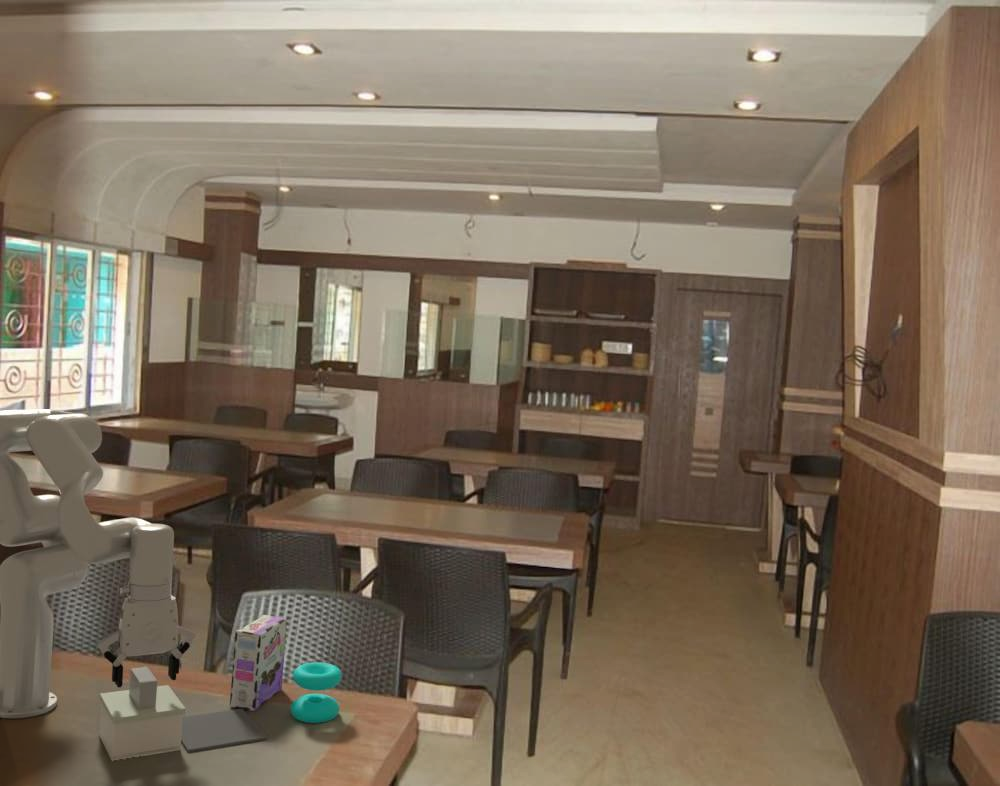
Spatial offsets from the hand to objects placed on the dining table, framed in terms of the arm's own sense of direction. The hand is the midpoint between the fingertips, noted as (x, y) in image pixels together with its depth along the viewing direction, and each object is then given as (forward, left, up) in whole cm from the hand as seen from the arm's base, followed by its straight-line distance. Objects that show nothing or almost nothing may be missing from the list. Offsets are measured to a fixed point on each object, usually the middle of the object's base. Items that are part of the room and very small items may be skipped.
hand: (145, 681), depth 175 cm
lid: (0, 0, -6) cm, 6 cm away
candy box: (+27, +13, -12) cm, 32 cm away
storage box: (0, 0, -12) cm, 12 cm away
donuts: (+35, 0, -12) cm, 37 cm away
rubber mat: (+14, 0, -12) cm, 19 cm away
